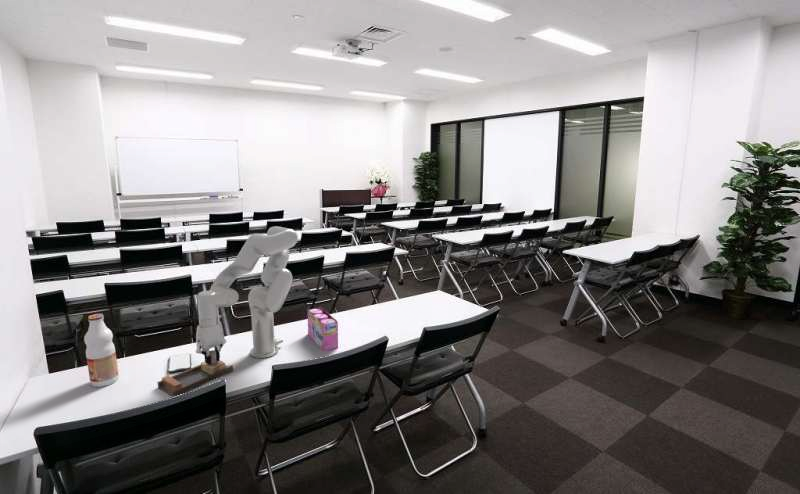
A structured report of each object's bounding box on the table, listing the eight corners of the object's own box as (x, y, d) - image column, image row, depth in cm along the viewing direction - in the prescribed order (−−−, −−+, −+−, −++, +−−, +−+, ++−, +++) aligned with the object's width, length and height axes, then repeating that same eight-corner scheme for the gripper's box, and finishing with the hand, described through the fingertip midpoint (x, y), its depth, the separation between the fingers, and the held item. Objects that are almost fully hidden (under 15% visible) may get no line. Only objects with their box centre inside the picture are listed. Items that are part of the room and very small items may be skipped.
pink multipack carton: (306, 333, 216) (305, 308, 213) (321, 330, 220) (320, 305, 217) (323, 351, 196) (322, 324, 193) (338, 347, 200) (338, 321, 197)
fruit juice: (110, 387, 163) (101, 320, 157) (85, 388, 162) (74, 320, 156) (123, 375, 172) (115, 311, 166) (99, 375, 171) (90, 311, 165)
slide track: (217, 363, 183) (216, 354, 182) (233, 371, 176) (232, 362, 175) (158, 387, 163) (157, 378, 162) (173, 398, 156) (172, 388, 155)
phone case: (169, 359, 187) (168, 375, 173) (168, 356, 186) (167, 371, 172) (191, 355, 191) (191, 371, 177) (190, 352, 190) (191, 367, 176)
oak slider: (214, 364, 180) (213, 346, 178) (225, 369, 175) (224, 351, 174) (201, 369, 175) (199, 351, 173) (212, 375, 170) (210, 357, 169)
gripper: (222, 313, 179) (225, 352, 183) (184, 324, 166) (188, 367, 170) (232, 316, 175) (235, 357, 179) (194, 329, 162) (199, 372, 166)
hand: (212, 361), depth 174 cm, fingers closed on oak slider, 3 cm apart
